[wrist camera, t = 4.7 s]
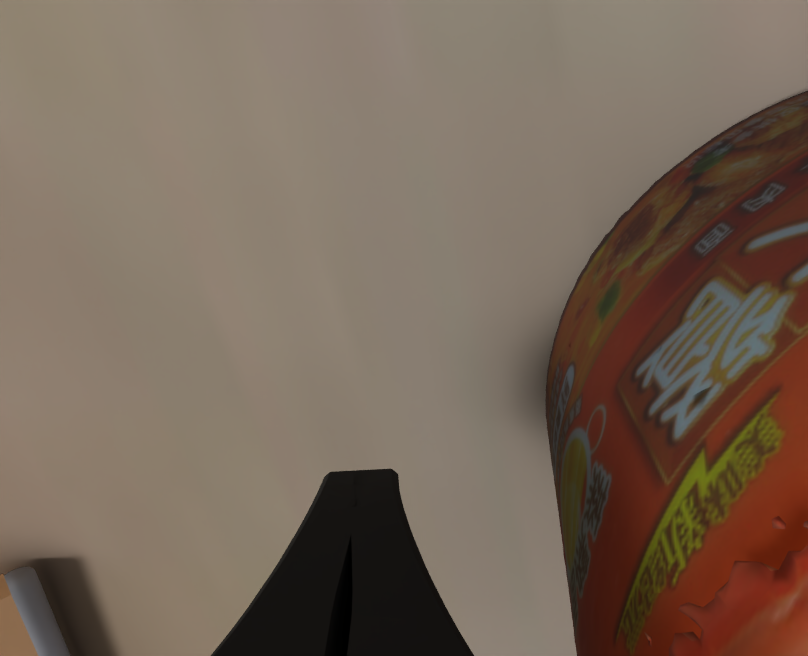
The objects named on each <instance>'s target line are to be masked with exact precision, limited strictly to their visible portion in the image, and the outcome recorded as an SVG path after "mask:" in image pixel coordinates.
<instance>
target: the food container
mask: <svg viewBox="0 0 808 656" xmlns="http://www.w3.org/2000/svg"><path fill="white" fill-rule="evenodd" d="M546 419H547V429H548V437H549V444H550V453H551V461H552V468H553V474H554V483H555V489H556V497H557V504H558V511H559V519H560V527H561V534H562V542H563V551H564V559H565V565H566V573H567V580H568V587H569V595H570V602H571V612H572V619H573V627H574V636H575V644H576V651H577V656H808V91H807V92H804V93H801V94H799V95H796V96H793V97H791V98H788V99H786V100H783V101H781V102H779V103H777V104H775V105H773V106H770V107H768V108H766V109H764V110H762V111H760V112H759V113H756V114H754V115H752V116H750V117H748V118H747V119H745V120H743V121H741V122H739V123H737V124H735V125H734V126H732V127H730V128H729V129H727V130H725V131H724V132H722V133H721V134H719V135H717V136H716V137H714V138H713V139H711V140H710V141H708V142H707V143H706V144H704V145H703V146H702V147H700V148H698V149H697V150H695V151H694V152H693V153H691V154H690V155H689V156H688V157H687V158H685V159H684V160H683V161H681V162H680V163H679V164H677V165H676V166H674V167H673V168H672V169H671V170H670V171H669V172H667V173H666V174H664V175H663V176H662V177H661V178H660V179H659V180H657V181H656V182H655V183H654V184H653V185H652V186H651V187H650V189H649V190H648V191H646V192H645V193H644V194H643V195H642V196H641V197H640V198H639V199H638V200H637V201H636V202H635V203H634V205H633V206H632V207H631V208H630V209H629V210H628V211H627V212H625V213H624V214H623V215H622V216H621V217H620V218H619V220H618V221H617V223H616V224H615V226H614V227H613V228H612V230H611V231H610V232H609V233H608V234H607V235H606V236H605V237H604V238H603V240H602V241H601V243H600V244H599V246H598V247H597V248H596V250H595V251H594V252H593V254H592V255H591V257H590V259H589V261H588V263H587V265H586V266H585V268H584V269H583V271H582V272H581V274H580V276H579V277H578V279H577V282H576V285H575V287H574V289H573V291H572V292H571V294H570V296H569V299H568V301H567V304H566V306H565V309H564V311H563V313H562V316H561V319H560V323H559V326H558V329H557V332H556V336H555V339H554V344H553V347H552V351H551V355H550V362H549V367H548V374H547V385H546Z"/></svg>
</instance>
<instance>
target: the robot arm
mask: <svg viewBox="0 0 808 656" xmlns="http://www.w3.org/2000/svg"><path fill="white" fill-rule="evenodd" d="M211 656H474V655H473V653H472V652H471V650H470V648H469V647H468V645H467V643H466V642H465V640H464V638H463V637H462V635H461V633H460V632H459V630H458V628H457V627H456V625H455V623H454V621H453V620H452V618H451V616H450V614H449V612H448V610H447V609H446V607H445V605H444V603H443V601H442V599H441V597H440V595H439V593H438V591H437V589H436V587H435V585H434V583H433V581H432V579H431V577H430V575H429V573H428V570H427V568H426V566H425V564H424V561H423V559H422V557H421V554H420V552H419V549H418V547H417V545H416V542H415V540H414V537H413V535H412V532H411V529H410V526H409V524H408V520H407V517H406V514H405V511H404V508H403V504H402V500H401V496H400V491H399V480H398V474H397V473H396V472H395V471H393V470H392V469H377V470H358V471H339V472H330V473H328V474H327V475H326V476H325V477H324V479H323V482H322V484H321V486H320V488H319V491H318V493H317V495H316V497H315V499H314V501H313V503H312V505H311V507H310V509H309V511H308V513H307V514H306V516H305V518H304V520H303V522H302V524H301V525H300V527H299V529H298V531H297V533H296V534H295V536H294V538H293V539H292V541H291V543H290V544H289V546H288V548H287V549H286V551H285V553H284V554H283V556H282V558H281V559H280V561H279V562H278V564H277V566H276V567H275V569H274V570H273V572H272V573H271V575H270V576H269V578H268V579H267V581H266V582H265V584H264V585H263V586H262V588H261V589H260V591H259V592H258V594H257V595H256V597H255V598H254V600H253V601H252V603H251V604H250V605H249V607H248V608H247V610H246V611H245V612H244V614H243V615H242V616H241V618H240V619H239V620H238V622H237V623H236V625H235V626H234V627H233V628H232V630H231V631H230V632H229V634H228V635H227V636H226V637H225V639H224V640H223V641H222V642H221V644H220V645H219V646H218V647H217V649H216V650H215V651H214V652H213V654H212V655H211Z"/></svg>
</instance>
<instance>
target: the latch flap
mask: <svg viewBox="0 0 808 656" xmlns="http://www.w3.org/2000/svg"><path fill="white" fill-rule="evenodd" d="M0 656H71V655H70V653H69V651H68V648H67V646H66V643H65V641H64V639H63V636H62V634H61V631H60V629H59V626H58V624H57V622H56V619H55V617H54V614H53V612H52V610H51V607H50V605H49V602H48V600H47V597H46V595H45V593H44V590H43V588H42V585H41V583H40V581H39V578H38V576H37V573H36V571H35V570H34V569H33V568H31V567H21V568H17V569H14V570H12V571H10V572H8V573H7V574H5V575H3V574H1V575H0Z"/></svg>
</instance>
